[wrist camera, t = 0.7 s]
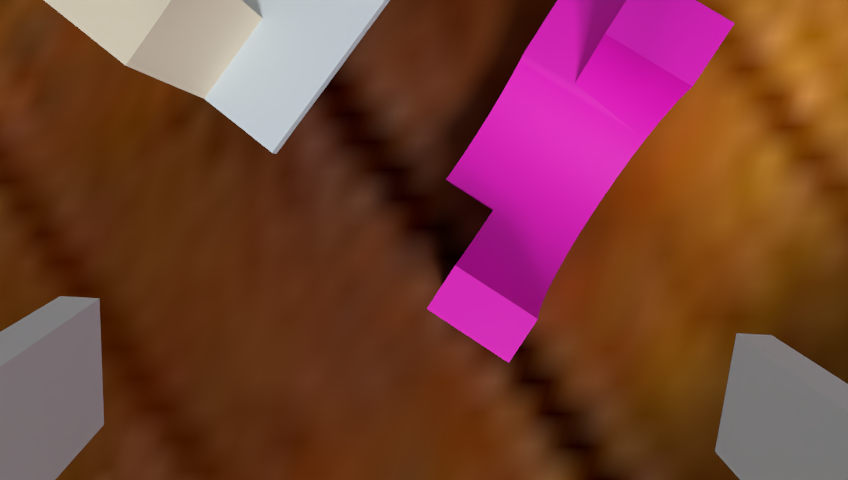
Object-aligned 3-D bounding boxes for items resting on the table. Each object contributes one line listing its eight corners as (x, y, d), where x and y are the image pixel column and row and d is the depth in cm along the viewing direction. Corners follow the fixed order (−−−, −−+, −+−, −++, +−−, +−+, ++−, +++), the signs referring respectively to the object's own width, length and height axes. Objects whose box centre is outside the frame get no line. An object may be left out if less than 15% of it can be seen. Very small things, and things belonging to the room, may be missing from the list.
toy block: (566, 3, 32) (587, -64, 24) (678, 71, 31) (734, 23, 24) (401, 262, 33) (373, 273, 26) (506, 331, 33) (508, 362, 25)
